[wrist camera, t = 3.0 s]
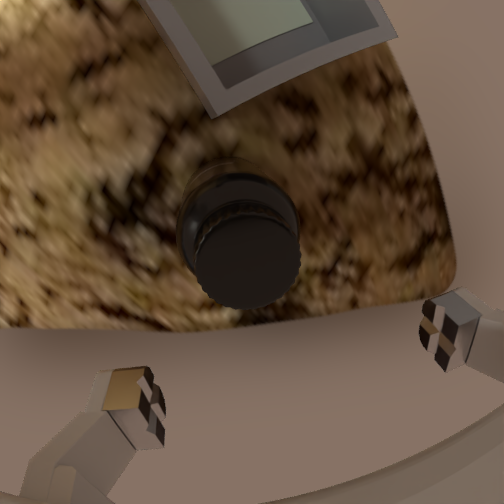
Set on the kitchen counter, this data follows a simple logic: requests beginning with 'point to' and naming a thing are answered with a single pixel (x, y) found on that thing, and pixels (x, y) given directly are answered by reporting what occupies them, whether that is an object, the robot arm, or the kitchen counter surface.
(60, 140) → the kitchen counter surface
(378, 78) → the kitchen counter surface
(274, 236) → the supplement bottle
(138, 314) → the kitchen counter surface
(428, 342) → the robot arm
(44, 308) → the kitchen counter surface
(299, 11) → the walled bin
